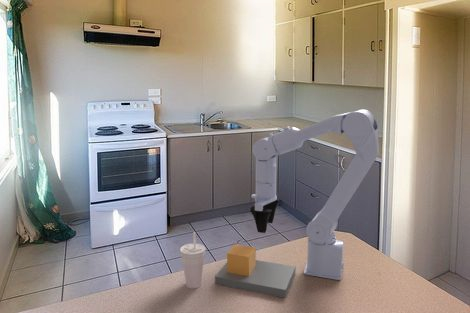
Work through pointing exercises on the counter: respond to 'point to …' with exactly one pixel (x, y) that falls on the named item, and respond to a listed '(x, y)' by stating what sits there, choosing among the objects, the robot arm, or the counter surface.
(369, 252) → the counter surface
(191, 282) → the smoothie
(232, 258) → the amber cube
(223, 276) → the flat grey tile
